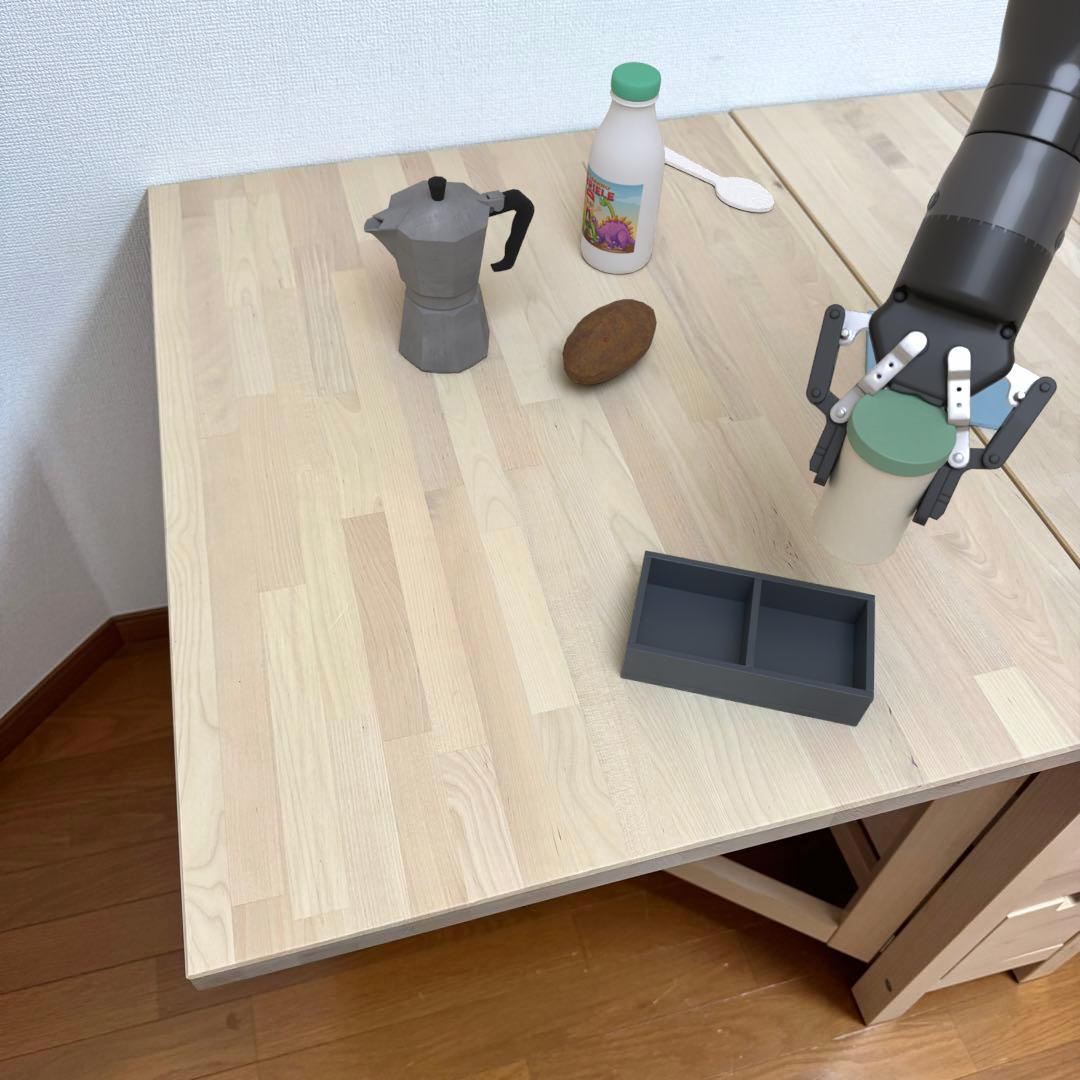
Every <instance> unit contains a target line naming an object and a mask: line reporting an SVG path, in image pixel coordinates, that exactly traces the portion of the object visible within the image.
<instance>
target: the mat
mask: <svg viewBox="0 0 1080 1080" xmlns="http://www.w3.org/2000/svg"><path fill="white" fill-rule="evenodd" d="M875 311H876V310H872V309H869V310H868V311H867V313H870V314H873V313H874V312H875ZM865 361H866V367H865V375H866V374H867V373H868V372H869V371H870V370H871V369H873V368H874V367H875V366H876V361H875V356H874V352H873V348H872V344H871V340H870V335H869V331H866V360H865ZM885 389H887V388H885ZM1008 390H1009V385H1008V382H1007V381H1006V380H1005V379H1001V380H999V381H998V382H996V383H994V384H993V385H991V386H989V387H988V388H986V389H984V390H983V391H981V392H979V393H978V394H976V395H974V396H972V397H971V398H970V411H971V421H970V426H975V427H978V428H979V427H980V428H985V429H991V430H996V431H997V430H998V428H999V427H1000V426H1001V424H1002V423H1003V421H1004V420H1005V418H1006V417H1007V416H1008V414H1009V413H1010V411H1011V410H1012V408H1013V407H1011V406H1010V405H1008V403H1007V401H1006V394H1007V392H1008Z"/></svg>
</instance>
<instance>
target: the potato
mask: <svg viewBox="0 0 1080 1080" xmlns="http://www.w3.org/2000/svg"><path fill="white" fill-rule="evenodd" d="M657 323H658V322H657V318H656V314H655V310H654V308H652V306H650V305H649V304H647V303H645V302H644V301H640V300H636V299H633V298H622V299H618V300H614V301H611V302H609V303H607V304H604V305H602V306H600V307H597V308H596V309H594V310H593V311H591V312H589V313H587V315H585V316H583V317H582V318H581V319H580V320H579V322H577V324H576V325H575V327H574V328H573V330H572V331H571V332H570V334H569V335H568V336H567V338H566V340H565V343H564V345H563V349H562V353H561V356H562V362H563V363H562V364H563V370H564V371H565V373H566V374H567V376H568V378H569V379H570V380H571V381H574V382H575V383H577V384H580V385H589V386H590V385H595V384H600V383H603V382H606V381H608V380H611V379H612V378H614V377H616V376H618V375H620V374H622V373H623V372H625V371H626V370H628V369H630V368H631V367H632V366H634V365H635V364H636V363H638V362H639V361H640V360H642V358H643V357H644V356H645V355H646V354H647V353H648V351H649V349H650V347H651V345H652V343H653V341H654V336H655V333H656V330H657Z"/></svg>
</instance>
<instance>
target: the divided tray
mask: <svg viewBox="0 0 1080 1080" xmlns="http://www.w3.org/2000/svg"><path fill="white" fill-rule="evenodd" d="M633 604H634V606H633V610H632V614H631V621H630V625H629V631H628V637H627V641H626V646H625V651H624V657H623V663H622V667H621V672H620V678H621V679H626V680H631V681H635V682H641V683H645V684H650V685H655V686H659V687H663V688H668V689H674V690H678V691H682V692H683V691H684V692H687V693H694V694H697V695H702V696H708V697H712V698H717V699H721V700H725V701H731V702H736V703H741V704H745V705H750V706H756V707H760V708H765V709H769V710H775V711H779V712H784V713H790V714H793V715H798V716H803V717H808V718H813V719H818V720H822V721H827V722H832V723H837V724H842V725H847V726H852V727H858V725H859V723H860V722H861V720H862V719H863V717H864V716H865V714H866V712H867V711H868V710H869V708H870V706H871V704H872V703H873V701H874V699H875V653H876V652H875V650H876V649H875V648H876V647H875V646H876V645H875V643H876V595H875V594H871V593H866V592H861V591H856V590H851V589H846V588H840V587H837V586H836V587H835V586H831V585H825V584H820V583H815V582H810V581H805V580H799V579H794V578H789V577H784V576H780V575H773V574H769V573H765V572H764V573H763V572H760V571H759V572H758V571H754V570H749V569H743V568H739V567H733V566H728V565H723V564H718V563H712V562H708V561H703V560H697V559H692V558H687V557H683V556H677V555H671V554H667V553H661V552H656V551H650V550H645V551H644V554H643V559H642V564H641V570H640V574H639V579H638V583H637V589H636V594H635V599H634V603H633Z"/></svg>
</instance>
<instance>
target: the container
mask: <svg viewBox="0 0 1080 1080" xmlns="http://www.w3.org/2000/svg"><path fill="white" fill-rule="evenodd" d="M956 439H957V434H956V428H955V426H952V425H948V421H947V413H946V411H945V410H944V409H943V408H941V407H939V406H936V405H933V404H930V403H928V402H926V401H925V400H923V399H922V398H920V397H919V396H917V395H913V394H905V393H901V392H897V391H895V390H892V389H882V390H880V391H879V392H877V393H876V394H875V395H874V396H873V397H872V396H870V395H868V394H866V395H865V396H863V397H862V398H861V399H859V400H858V402H857V403H856V404H855V406H854V408H853V410H852V413H851V415H850V418H849V420H848V423H847V434H846V437H845V440H844V442H843V444H842V447H841V449H840V452H839V454H838V457H837V459H836V462H835V464H834V467H833V469H832V472H831V474H830V476H829V478H828V481H827V483H826V485H825V487H823V488H824V489H823V491H822V494H821V495H820V499H819V501H818V502H817V506H816V508H815V511H814V513H813V516H812V519H811V529H812V533H813V536H814V538H815V540H816V542H817V543H818V545H819V546H820V547H821V548H822V549H823V550H824V551H825V552H826V553H828V554H829V555H830V556H831V557H833V558H835V559H837V560H839V561H841V562H843V563H846V564H851V565H856V566H872V565H877V564H880V563H882V562H885V561H886V560H887V559H889V558H890V557H892V555H893V554H894V553H895V551H896V549H898V545H899V544H900V542H901V541H902V538H903V536H904V534H905V532H906V530H907V529H908V527H909V525H910V523H911V522H912V519H913V517H914V514H915V512H916V510H917V508H918V506H919V504H920V502H921V500H922V498H923V497H924V495H925V493H926V491H927V489H928V487H929V485H930V483H931V482H932V480H933V478H934V476H935V474H936V472H937V471H938V469H940V468H941V467H942V466H943V465H944V464H945V463H946V461H947V460H948V458H949V456H950V454H951V452H952V450H953V448H954V446H955V444H956Z"/></svg>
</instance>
